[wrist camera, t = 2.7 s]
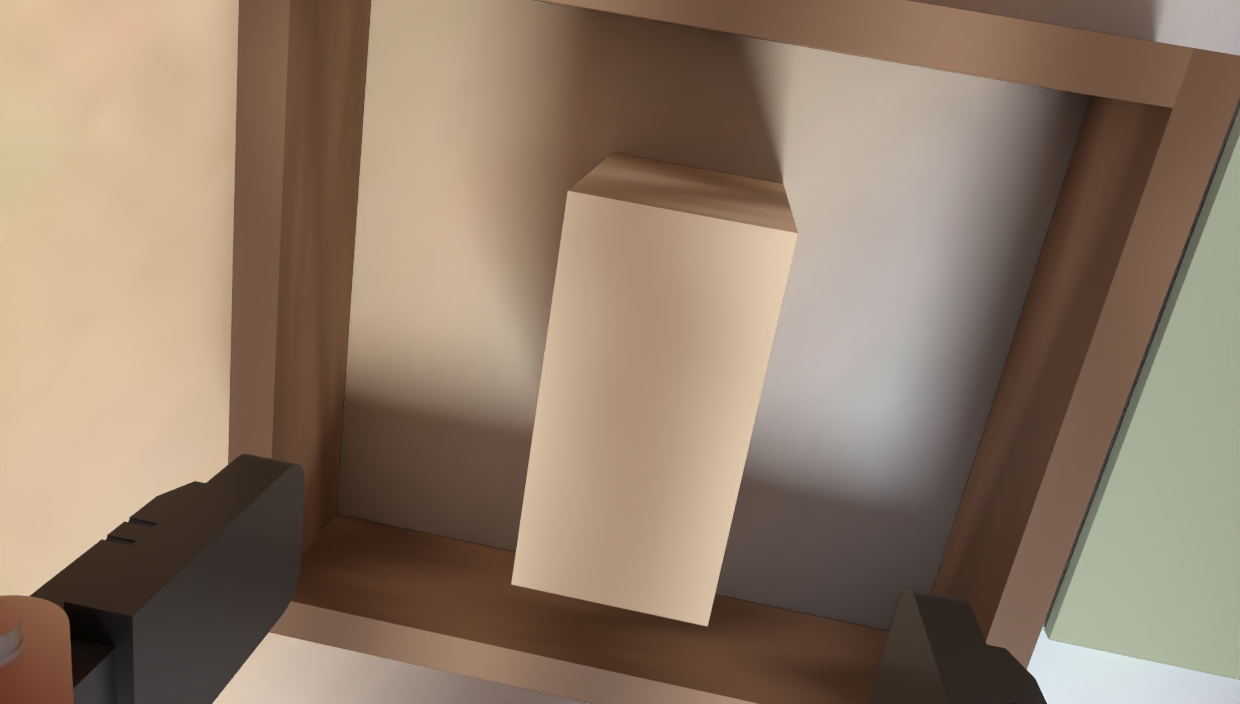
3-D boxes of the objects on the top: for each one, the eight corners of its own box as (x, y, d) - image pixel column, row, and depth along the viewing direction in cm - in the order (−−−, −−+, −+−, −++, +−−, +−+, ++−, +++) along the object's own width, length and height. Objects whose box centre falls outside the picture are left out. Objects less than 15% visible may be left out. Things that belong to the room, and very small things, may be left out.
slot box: (1155, 55, 19) (1254, 58, 16) (944, 676, 25) (981, 789, 21) (333, -83, 21) (242, -112, 17) (299, 538, 26) (224, 622, 22)
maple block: (782, 183, 21) (798, 233, 16) (715, 489, 24) (707, 626, 18) (613, 152, 22) (567, 190, 16) (564, 458, 24) (511, 584, 19)
